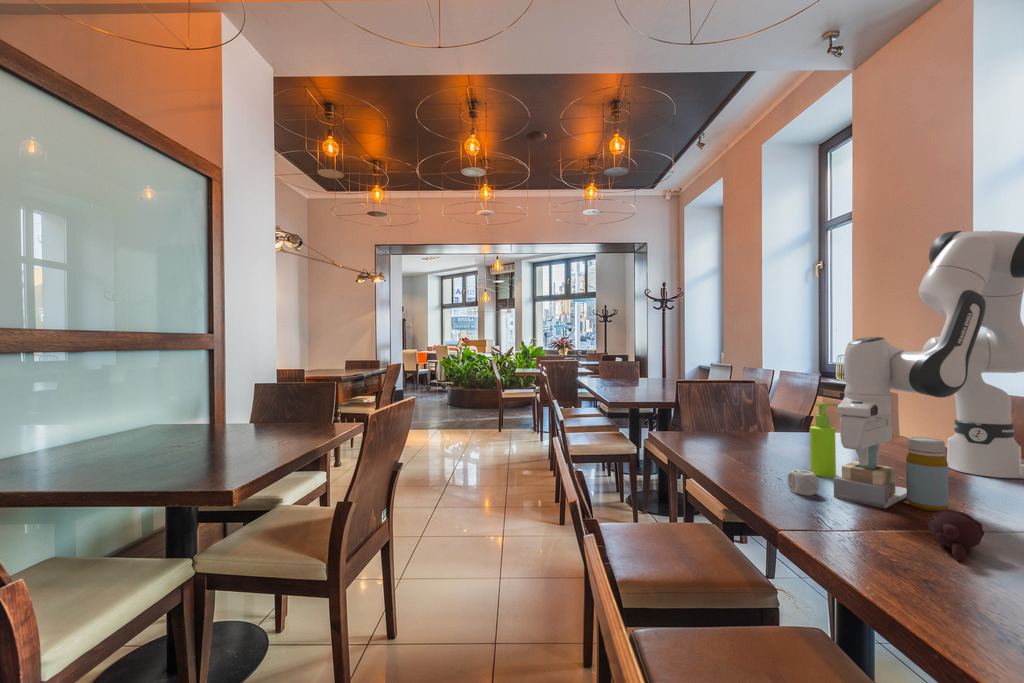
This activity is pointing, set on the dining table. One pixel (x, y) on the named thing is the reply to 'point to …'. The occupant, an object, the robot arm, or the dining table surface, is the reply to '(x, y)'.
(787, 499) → the dining table surface
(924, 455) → the bottle
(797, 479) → the die
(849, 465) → the block
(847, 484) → the grey l-shaped tray
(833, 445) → the soap dispenser
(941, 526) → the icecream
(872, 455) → the dowel
